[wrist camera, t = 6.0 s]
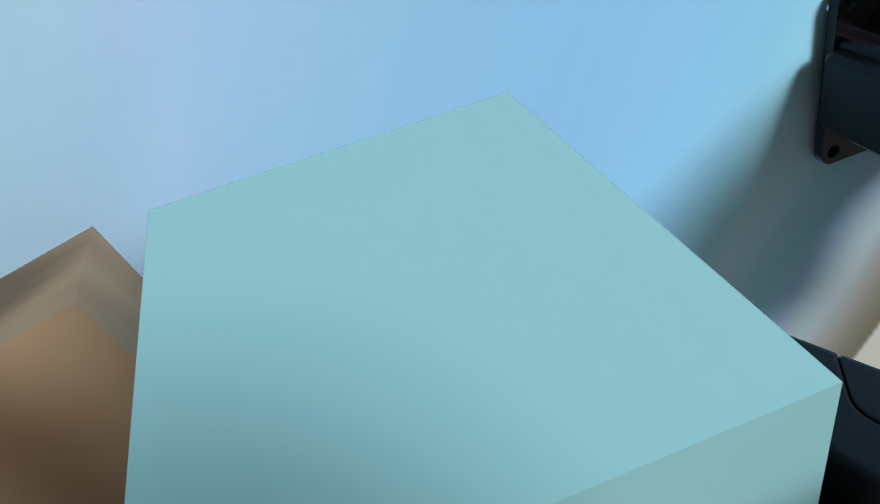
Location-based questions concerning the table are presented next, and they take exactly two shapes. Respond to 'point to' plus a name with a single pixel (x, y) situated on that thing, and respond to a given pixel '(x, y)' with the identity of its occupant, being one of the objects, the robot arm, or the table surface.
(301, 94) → the table surface
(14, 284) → the walnut base block
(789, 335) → the robot arm
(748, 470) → the teal block
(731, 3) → the table surface
